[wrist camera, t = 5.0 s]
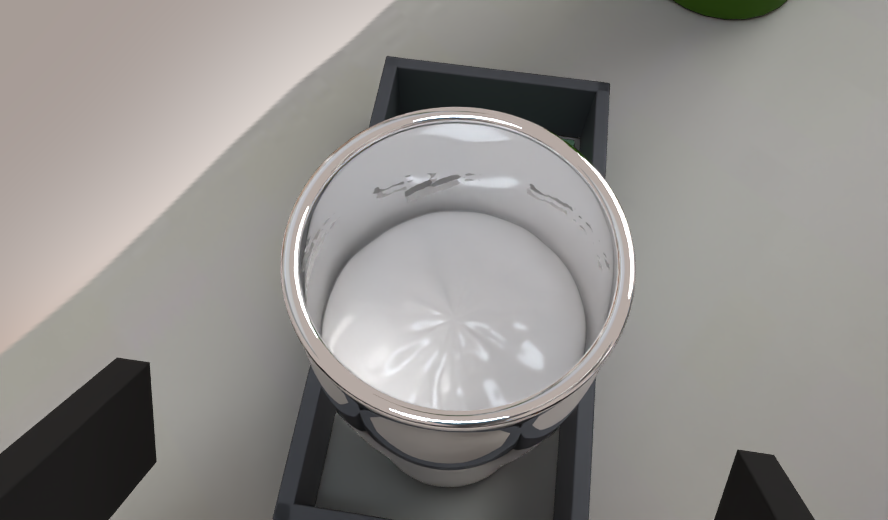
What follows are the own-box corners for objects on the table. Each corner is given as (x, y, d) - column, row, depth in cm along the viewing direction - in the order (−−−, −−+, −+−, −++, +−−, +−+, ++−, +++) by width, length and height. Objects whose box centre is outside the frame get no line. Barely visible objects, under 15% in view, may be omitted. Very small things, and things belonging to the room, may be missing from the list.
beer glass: (331, 382, 25) (205, 198, 12) (472, 297, 27) (504, 47, 13) (421, 538, 23) (392, 534, 9) (569, 434, 25) (730, 301, 11)
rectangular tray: (593, 130, 31) (610, 82, 28) (565, 568, 23) (586, 572, 19) (391, 104, 31) (386, 55, 28) (294, 523, 23) (271, 519, 20)
